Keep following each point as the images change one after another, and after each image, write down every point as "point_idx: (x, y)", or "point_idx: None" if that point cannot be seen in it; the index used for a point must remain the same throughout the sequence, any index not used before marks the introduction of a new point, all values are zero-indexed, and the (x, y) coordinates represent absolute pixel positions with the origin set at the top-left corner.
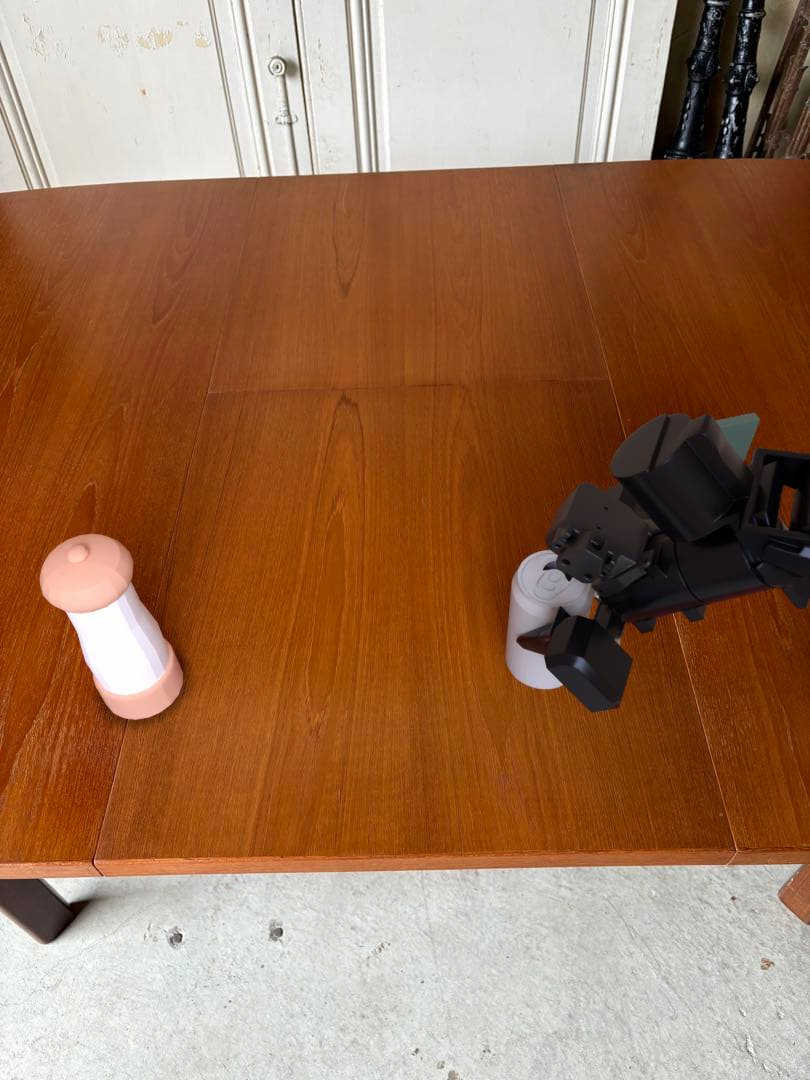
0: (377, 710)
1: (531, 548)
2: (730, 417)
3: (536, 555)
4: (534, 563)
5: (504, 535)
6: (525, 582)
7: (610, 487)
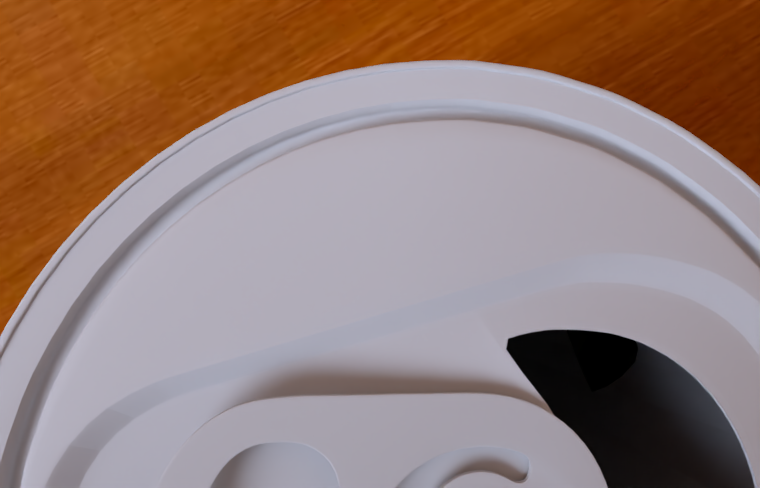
0: (91, 20)
1: (728, 125)
2: None
3: (671, 168)
4: (546, 202)
5: (728, 45)
6: (203, 241)
7: None
